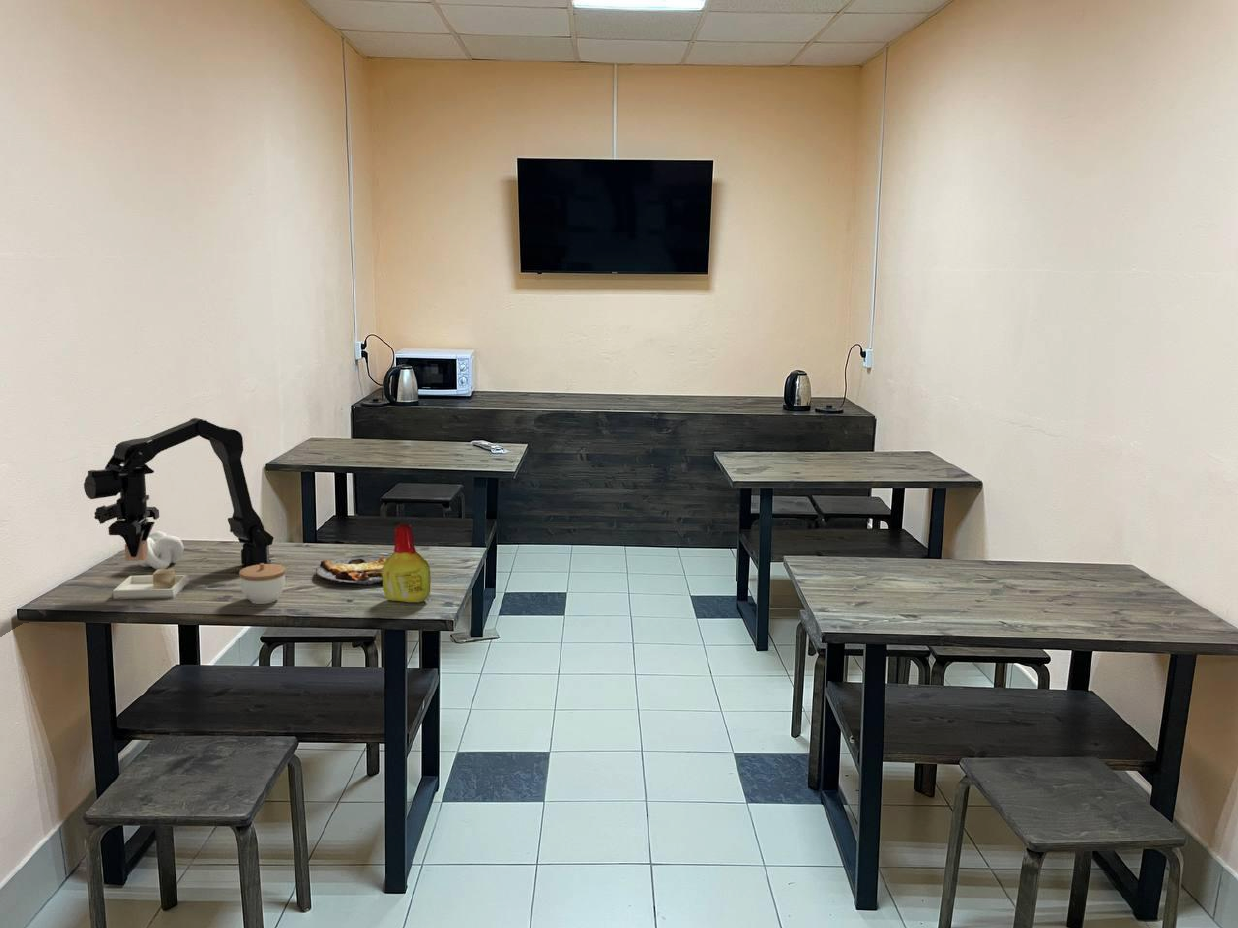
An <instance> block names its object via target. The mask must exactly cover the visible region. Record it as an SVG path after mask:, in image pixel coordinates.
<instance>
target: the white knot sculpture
mask: <svg viewBox="0 0 1238 928" xmlns="http://www.w3.org/2000/svg"><path fill="white" fill-rule="evenodd" d="M147 543H148V557H147V558H145V559H144V560H143V561H138V562H137V563H138V564H139V565H140V567H144V568H149V567H152V568H153V569H156V570H157V569H168V568H169V567H170V564H172V563H174V562H177V561H178V560H179V559H180V558H181V557H182V555H183V553H184V544H183V542H182V540H181V539H180V538H179V537H177V536H174V535H169V534H168V535H167V533H165V532H163V531H158V530H157V531H154V532H152V533H150V534H149V536H148V538H147Z"/></svg>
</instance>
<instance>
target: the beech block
mask: <svg viewBox="0 0 1238 928" xmlns="http://www.w3.org/2000/svg"><path fill="white" fill-rule="evenodd" d="M175 571H176V570H175V568H166V569H156V570H155V571H154V572H153V573H152V575H153V585H154V589H171V588H172V587H173V586H174V585H175V575H176V574H175Z"/></svg>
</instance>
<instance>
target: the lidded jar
mask: <svg viewBox="0 0 1238 928" xmlns="http://www.w3.org/2000/svg"><path fill="white" fill-rule="evenodd" d="M238 574H239V581H240V582H239V583H240V589H241V591H242V593H243V595H244V596H245V598H246V599H247V600H249V601H250V603H251V604H255V605H266V604H271V603H273V602H276V601H277V599H278V597H280V595H281V594H282V593H283V590H284V589H285V583H286V567H284V566H283V565H280V564H275V563H270V564H264V563H260V564H259V565H253V566H249V567H246V568H242V569H240V570H239V572H238Z"/></svg>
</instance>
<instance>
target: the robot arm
mask: <svg viewBox="0 0 1238 928" xmlns="http://www.w3.org/2000/svg"><path fill="white" fill-rule="evenodd" d="M198 436H199V437H201V438H203V439H204V440H206V441H209V444H210V446H211V448H212V450H213V452H214V454H215V455H216V456H217V458H218V459H219V460H220V462H221V464H222V468H223V469H222V470H223V472H224V477H225V481H226V485H227V488H228V493H229V496H230V500H231V504H232V508H233V514H232V516H231V517H228V518H227V521H228V523H229V528H230V529H229V532H231V533H232V535H234V537H236V538H237V540H238V541H239V543H242V548H241V550H240V557H241V559H240V560H241V561H240V562H241V565H242V566H241V568H242V569H243V568H246V567H249V566H253V565H259V564H260V563H264V564H271V562H272V559H270V547H269V546H271V545H272V544H273V542H274V536H272V534H270V533H269V532H268V531H266V530H265V526H264V523H263V521H262V519H261V517H260V516H259V514H258V513H257V512H256V510H255V509H254V507H253V504H252V500H251V496H250V492H249V488H248V483H247V479H246V475H245V471H244V467H243V463H242V456H243V453H244V442H243V441H244V440H243V436H242V433H241V432H240V431H238V430H236V429H234V428H233V429H232V428H228V427H223V426H222V427H221V426H219V425H216V424H214V423H211V422H210V421H207V420H206V419H203V418H197V417H193V418H190V419H189V420H187V421H185V422H183V423H180V424H178V425H176V426H173V427H171V428H168V429H165V430H163V431H161V432H158V433H155V434H153V435H150V436H147V437H141V438H134V439H128V440H124V441H121V442H119V443H117V444H116V445H115V448H114V450H113V454H112V456H111V457H110V459H109V461H108V462H107V464H106V465H105V467H104V468H103V469H91V470H87V476H86V477H85V480H84V483H83V488H84V489H83V490H84V491H85V494H86V497H87V498H88V499H89V500H95V499H103V498H110V497H116V496H117V495H118V494H120V495H119V497H118V498H117V499H116V501H115V502H116V503H113V504H110V505H102V506H98V507H97V508H95V511H94V516H93V517H94V519H95V520H97V521H98V522H99V524H104V523H105V522H108V521H111V520H114V519H116V520H115V521H114V522H113V523H111V524H110V525H109V526H108V535H109V536H119V537H121V538H122V539H123V540H124V543H125V544H126V545H127V547H128V550H129V552H130V555H131V557H136V556H137V553H138V550H139V547H140V543H141V541H147V538H148V536H149V535H150V534H151V532H152V529H153V526H154V525H155V521H149V519H148V518H152V519H153V520H158V519H159V518H160V510H159V509H158V508H157V507H156V506H147V505H148V502H147V501H149V500H150V495H149V494H147V487H146V475H150V474H153V473H155V470H154V469H152V468H150V467H149V466H148V465H147V463H149V462H151V461H152V460H153V459H154V458H155V457H156V456H157V455H158V454H160V453H162V452H163V451H167V450H169V449H170V448H173V447H176V446H178V445H180V444H182V443H185V442H187V441H190V440H192V439H194V438H197V437H198Z"/></svg>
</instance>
